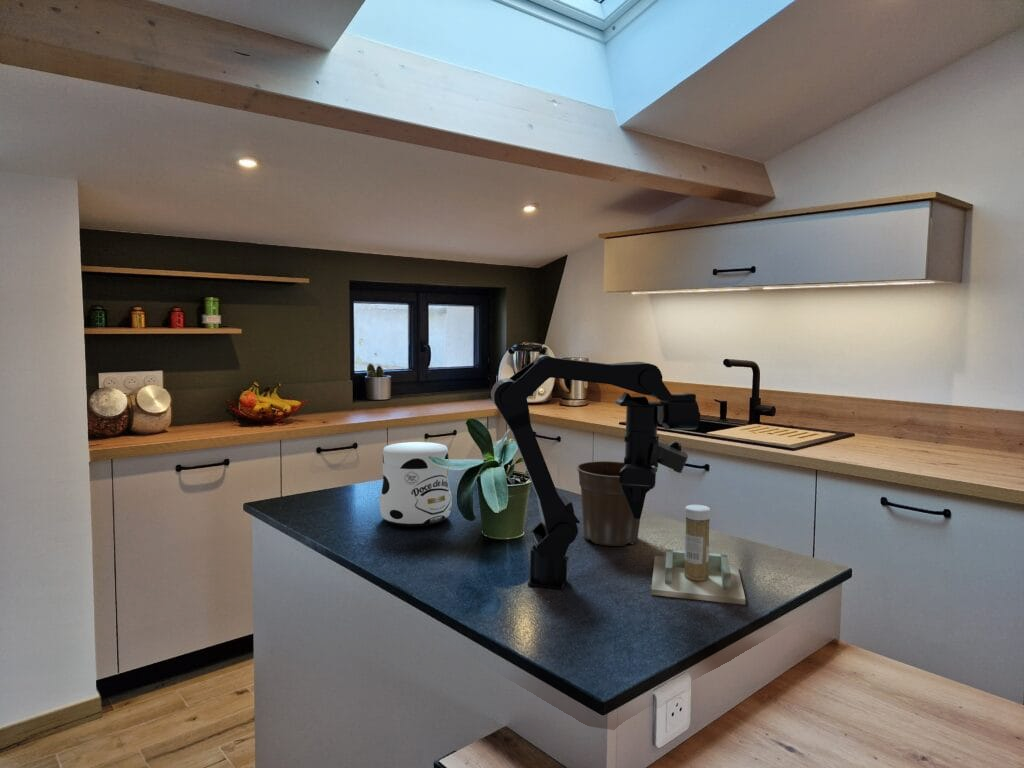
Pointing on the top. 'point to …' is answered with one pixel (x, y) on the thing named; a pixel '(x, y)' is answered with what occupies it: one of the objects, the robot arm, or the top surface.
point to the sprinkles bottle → (697, 542)
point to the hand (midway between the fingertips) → (638, 511)
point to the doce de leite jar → (414, 485)
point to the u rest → (716, 588)
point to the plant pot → (606, 505)
